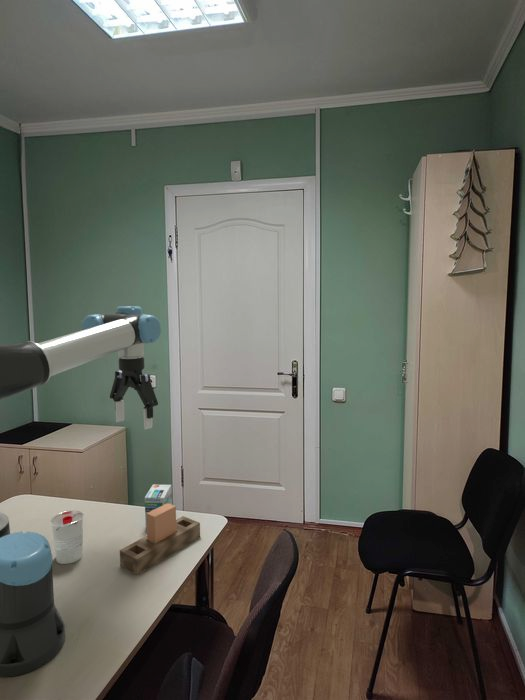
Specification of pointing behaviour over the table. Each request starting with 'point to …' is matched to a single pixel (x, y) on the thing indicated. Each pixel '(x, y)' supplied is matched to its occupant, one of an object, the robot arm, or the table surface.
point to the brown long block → (158, 547)
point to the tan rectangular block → (161, 523)
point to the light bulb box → (157, 498)
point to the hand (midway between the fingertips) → (134, 424)
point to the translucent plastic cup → (68, 536)
